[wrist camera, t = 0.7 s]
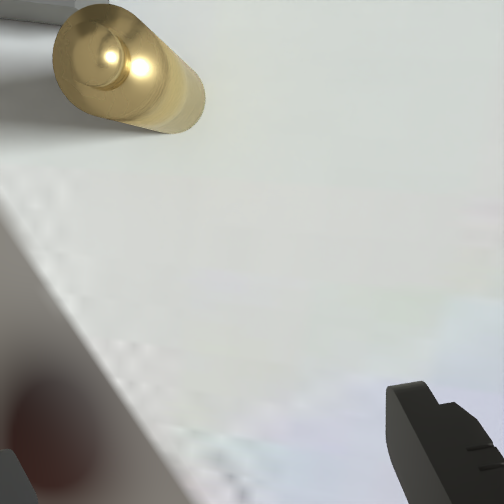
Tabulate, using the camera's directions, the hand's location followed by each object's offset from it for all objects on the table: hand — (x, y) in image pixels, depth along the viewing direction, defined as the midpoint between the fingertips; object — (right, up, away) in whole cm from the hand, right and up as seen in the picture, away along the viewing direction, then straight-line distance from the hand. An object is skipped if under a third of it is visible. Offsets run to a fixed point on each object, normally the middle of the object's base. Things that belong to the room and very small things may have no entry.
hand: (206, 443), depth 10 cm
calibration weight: (-5, +15, +23) cm, 28 cm away
